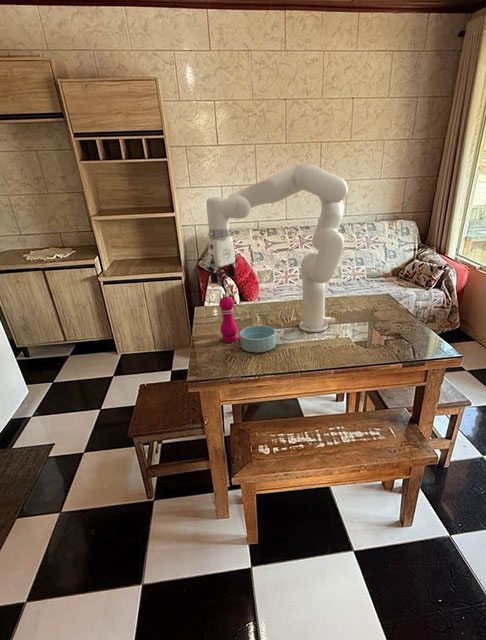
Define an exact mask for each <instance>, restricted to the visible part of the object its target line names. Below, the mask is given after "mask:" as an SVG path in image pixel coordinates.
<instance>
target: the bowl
mask: <svg viewBox="0 0 486 640" xmlns="http://www.w3.org/2000/svg"><path fill="white" fill-rule="evenodd" d="M239 341H240V348H241V349H242V350H244V351H245V352H248V353H249V352H250V353H255V354H256V353H257V354H258V353H265V352H268V351H269V352H270V351H271V350H273V349H274V348H276V346H277V331H276V329H275V328H274V327H272V326H269V325H262V324H261V325H260V324H259V325H251V326H247V327H244V328H242V329H241V330H240V332H239Z"/></svg>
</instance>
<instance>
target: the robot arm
mask: <svg viewBox="0 0 486 640" xmlns="http://www.w3.org/2000/svg"><path fill="white" fill-rule="evenodd" d="M302 191H306V192H308V193H310V194H313V195H315V196H317V198H318V199H319V200H320V203H321V211H320V215H319V219H318V221H317V224H316V227H315V229H314V233H313V236H312V239H311V242H312V247H313V248H314V249H315V250H317V253H316V252H310V253H307V254H306V255H305V256H304V257H303V258H302V260H301V263H300V274H301V283H302V321H301V322H299V324H298V327H299V329H300V330H301V331H304V332H307V333H320V332H323V331H326V330H327V329H328V328H329V323H336V318H335V317H332V316H325V315H326V314H325V313H326V283H328V282H329V281H330V280H332V278H333V276H334V274H335V273H336V270H337V267H338V264H339V263H340V260H341V257H342V254H343V251H344V248H345V239H344V236H343V235H342V233H341V232H340V231H339V229H340V227H341V223H342V221H343V216H344V201H343V200H345V198H346V197H347V195H348V191H349V187H348V184H347V182H346V180H345V179H344V178H342V177H340V176H338V175H336V174H334V173H332V172H329V171H327V170H324V169H323V168H320V167H319V166H316V165H314V164H313V163H312V164H311V163H298V164H296V165H294V166H292V167H289V168H288V169H285V170H283V171H281V172H279V173H277V174H274V175H272V176H270V177H268V178H266V179H263V180H260V181H259V182H255V183H254V184H250V185H248V186H246V187H243V188H242V189H240V190H237V191H235V192H233V193H231V194H230V195H229V196H227V197H225V196H211V197H208V198H207V199H206V202H205V204H206V214H207V225H208V233H207V235H208V237H209V238H208V258H207V259H205V261H204V263H203V264H204V265H205V267H206V270H207V271H208V273H209V274H210V282H211V283H214V284H218V283H219V275H218V268H223V267H226V266H227V275H228V277H231V278H235V277H236V266H237V261H238V257H239V253H238V252H236V251H235V246H234V241H233V238H232V236H231V231H230V219H238V220H241V219H245V218H246V217H248V216H249V215H250V213H251V209H252V208H255V207H258V206H261V205H266V204H267V205H268V204H274V203H278V202H281V201H282V200H285V199H286V198H289V197H291V196H293V195H295V194H297V193H299V192H302Z"/></svg>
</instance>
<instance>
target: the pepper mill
mask: <svg viewBox="0 0 486 640" xmlns="http://www.w3.org/2000/svg"><path fill="white" fill-rule="evenodd" d="M234 306H235V300H234V299H233V298H232V297H231V296H229V294H228V293H224V294H223V297H221V298H220V299H219V301H218V307H219V308H220V313H221V314H222V322H221V325H220V333H221V335H222V336H221V337H222V341H223V342H224V343H230V344H231V343H235V342H237V341H238V334H237V333H238V332H239V327H238V324H237V322H236V321H235V318H234V315H233V314H234V311H235V310H234Z"/></svg>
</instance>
